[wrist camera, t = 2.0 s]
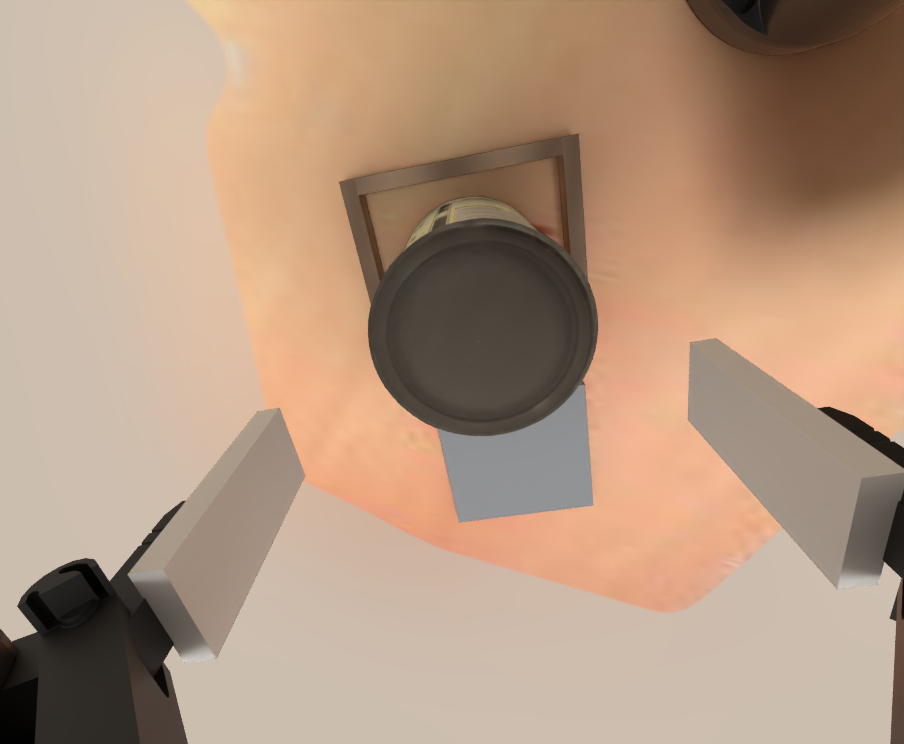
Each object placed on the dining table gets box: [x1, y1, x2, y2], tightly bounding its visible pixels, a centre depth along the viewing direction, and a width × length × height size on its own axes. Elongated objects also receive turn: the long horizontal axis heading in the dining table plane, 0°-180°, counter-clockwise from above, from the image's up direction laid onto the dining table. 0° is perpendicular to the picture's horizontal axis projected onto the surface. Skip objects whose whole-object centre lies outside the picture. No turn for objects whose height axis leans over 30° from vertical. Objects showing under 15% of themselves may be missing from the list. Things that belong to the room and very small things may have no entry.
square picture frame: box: [339, 134, 593, 360], centre depth 33 cm, size 15×15×2 cm
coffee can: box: [368, 196, 598, 436], centre depth 27 cm, size 10×10×14 cm
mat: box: [438, 381, 593, 522], centre depth 40 cm, size 12×12×1 cm
